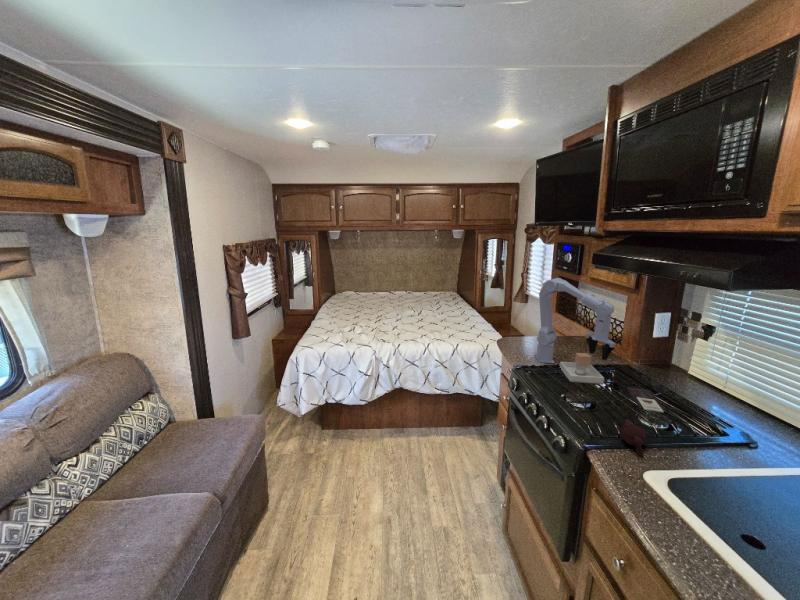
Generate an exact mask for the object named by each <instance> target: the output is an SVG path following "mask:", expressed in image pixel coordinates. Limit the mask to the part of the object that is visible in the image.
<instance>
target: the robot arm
mask: <svg viewBox="0 0 800 600" xmlns="http://www.w3.org/2000/svg"><path fill="white" fill-rule="evenodd" d="M556 292H566V293H568V294H570V295H571V296H573V297H575V298H577V299H579V300H580V302H581V304H582V305H584V306H586V307H587V308H589V309H590V310H592V311H594V312H595V314H596V319H595V327H594V332H587V336H586V337H587V338H585V341H586V343H587V345H588V350H589V354H595V352H596V351H597V346H598V343H599V342H600V343H602V344H601V346H600V347H601V353H602V354H601V360H602V361H607V360H608V358H609V356H610V354H611V353H612V352H613V351H614V350H615V349H616V342H614V341H613V340H611V339H610V338H609V336H610V335H609V334H610V328H611V322H612V314H613V313H614V311H615V306H614V305H613V304H612V303H611V302H610V301H606V300H604V299H601V298H598V297H597V296H596V294H594V293H585V292H583V291H582V290H580V289H579V288H577V287H576V286H574V285H573V284H571V283H570V282H568V281H567V280H565V279H563V278H560V277H556V278H551V279H547V280H546V281H545V282H543V283H542V287H541V289H540V291H539V295H538V296H539V297H538V298H539V299H538V300H539V314H540V315H539V316H540V317H539V318H540V328H539V330H538V335H537V342H538V344H537V347H536V354H534V357H535V359H536V360H537V362H538V363H545V364H555V361H554V359H553V357H554V348H555V347H554V346H555V341H556V340H557V338H558V335H557V333H556V329H555V327H553V317H552V315H553V314H552V296H553V295H554V294H556Z"/></svg>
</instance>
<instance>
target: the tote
mask: <svg viewBox="0 0 800 600" xmlns="http://www.w3.org/2000/svg"><path fill="white" fill-rule="evenodd" d="M559 366H560V367H559V368H561V369H560V370H561V371H562V373H563V374H564V375H565V377H566V378H567V379H568V381H569V382H570V383H583V384H596V385H597V384H598V385H604V382H605V377H604V376H603V375H602V374H601V372H599V371H598V370H597V369H596V368H595V367H594V366H593V365H592V364H591V366H588V365H587V368H586V375H585V376H579V375H577V374H575V370H576V362H575V361H574V362H571V361H560V362H559Z"/></svg>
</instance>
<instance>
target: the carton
mask: <svg viewBox="0 0 800 600" xmlns="http://www.w3.org/2000/svg"><path fill="white" fill-rule="evenodd" d="M592 358H593V356H592V355H591V354H590V353H589V352H588V353H587V352H576V353H575V358H574V362H576V363H577V364H578V365H588V366H591V365H592V360H593V359H592Z"/></svg>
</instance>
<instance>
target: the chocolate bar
mask: <svg viewBox="0 0 800 600" xmlns="http://www.w3.org/2000/svg"><path fill="white" fill-rule="evenodd" d="M625 389H626V390H627V392H628V393H629V395H630V396H631V398H632V400H633V401H634V403H635V404H636V405H637V407H638V408H639V410H645V411H649V412H657V413H664V414H668V410H667V409H666V408H665V407H664V406H663V404H662V402H661V401H660V400H659V399H658V398H657V396H656V395H655V394H654V393H653V392H652V390H651V389H645V388H639V387H631V386H630V387H629V386H625Z"/></svg>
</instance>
